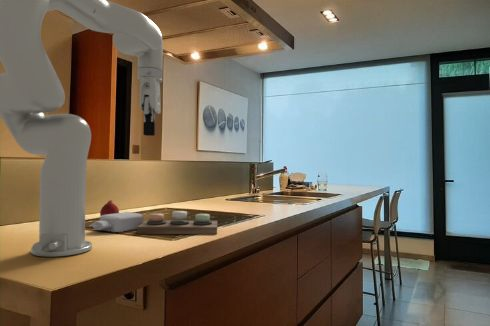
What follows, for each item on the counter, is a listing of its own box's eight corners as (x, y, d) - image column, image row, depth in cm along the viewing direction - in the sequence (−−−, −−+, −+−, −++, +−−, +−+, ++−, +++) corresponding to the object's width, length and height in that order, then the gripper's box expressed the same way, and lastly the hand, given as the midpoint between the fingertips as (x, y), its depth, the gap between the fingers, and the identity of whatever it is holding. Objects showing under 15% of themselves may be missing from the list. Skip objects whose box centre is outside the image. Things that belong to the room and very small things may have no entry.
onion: (112, 226, 117) (112, 201, 117) (96, 225, 119) (96, 200, 119) (122, 223, 123) (122, 199, 123) (106, 222, 124) (107, 198, 124)
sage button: (209, 221, 111) (209, 215, 111) (194, 221, 111) (194, 215, 111) (209, 219, 115) (210, 213, 115) (195, 219, 115) (195, 213, 115)
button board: (216, 234, 107) (217, 224, 107) (136, 233, 106) (137, 224, 106) (217, 226, 119) (217, 218, 119) (145, 226, 118) (145, 218, 118)
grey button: (186, 218, 110) (186, 212, 110) (171, 218, 110) (171, 212, 110) (187, 216, 115) (187, 211, 115) (173, 216, 114) (173, 210, 114)
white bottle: (81, 233, 107) (124, 226, 119) (100, 237, 102) (143, 229, 114) (81, 216, 107) (124, 211, 119) (100, 220, 102) (143, 214, 114)
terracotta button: (162, 221, 110) (162, 215, 110) (147, 221, 110) (147, 215, 110) (164, 219, 114) (165, 213, 114) (150, 219, 114) (150, 213, 114)
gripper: (158, 70, 106) (157, 133, 106) (165, 81, 121) (165, 137, 121) (131, 69, 106) (131, 133, 106) (142, 81, 121) (142, 136, 121)
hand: (149, 135), depth 114 cm, fingers closed
